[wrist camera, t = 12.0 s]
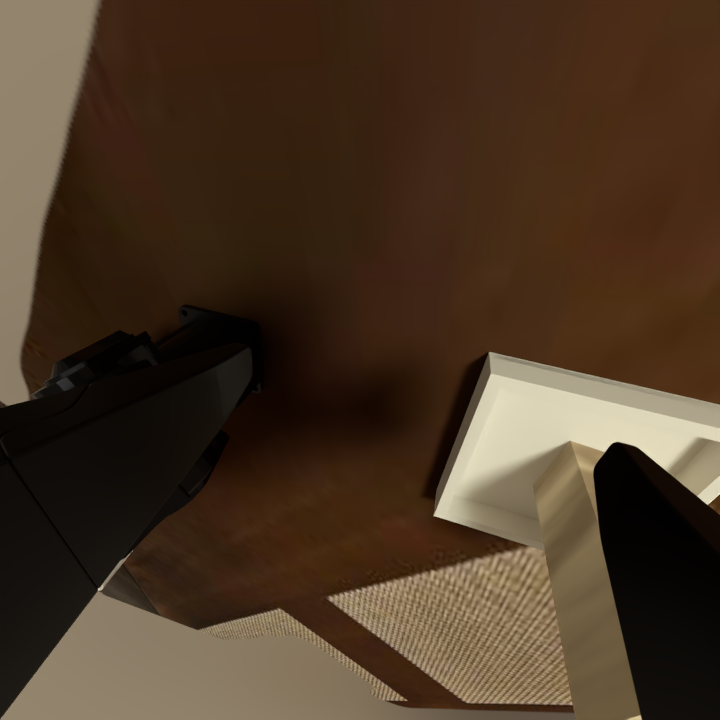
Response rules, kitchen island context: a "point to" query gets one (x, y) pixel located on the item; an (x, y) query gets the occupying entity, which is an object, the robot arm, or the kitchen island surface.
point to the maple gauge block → (583, 589)
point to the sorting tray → (563, 440)
